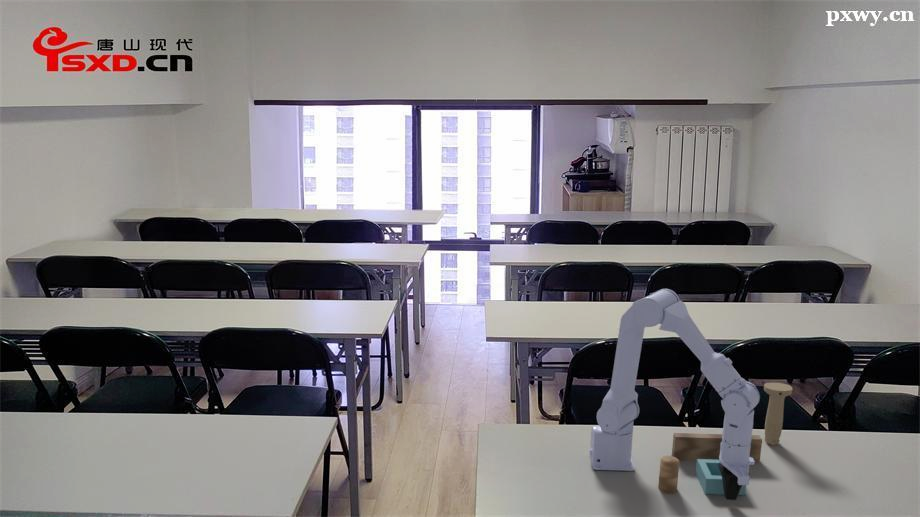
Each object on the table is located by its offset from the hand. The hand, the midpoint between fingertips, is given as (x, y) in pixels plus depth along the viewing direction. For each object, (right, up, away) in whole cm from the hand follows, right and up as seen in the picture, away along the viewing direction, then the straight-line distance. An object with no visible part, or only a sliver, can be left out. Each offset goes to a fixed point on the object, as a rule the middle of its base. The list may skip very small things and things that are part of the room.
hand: (730, 497), depth 172 cm
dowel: (-12, 0, +6) cm, 13 cm away
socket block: (0, +1, +8) cm, 8 cm away
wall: (+3, +3, +19) cm, 20 cm away
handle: (+19, +5, +27) cm, 34 cm away
